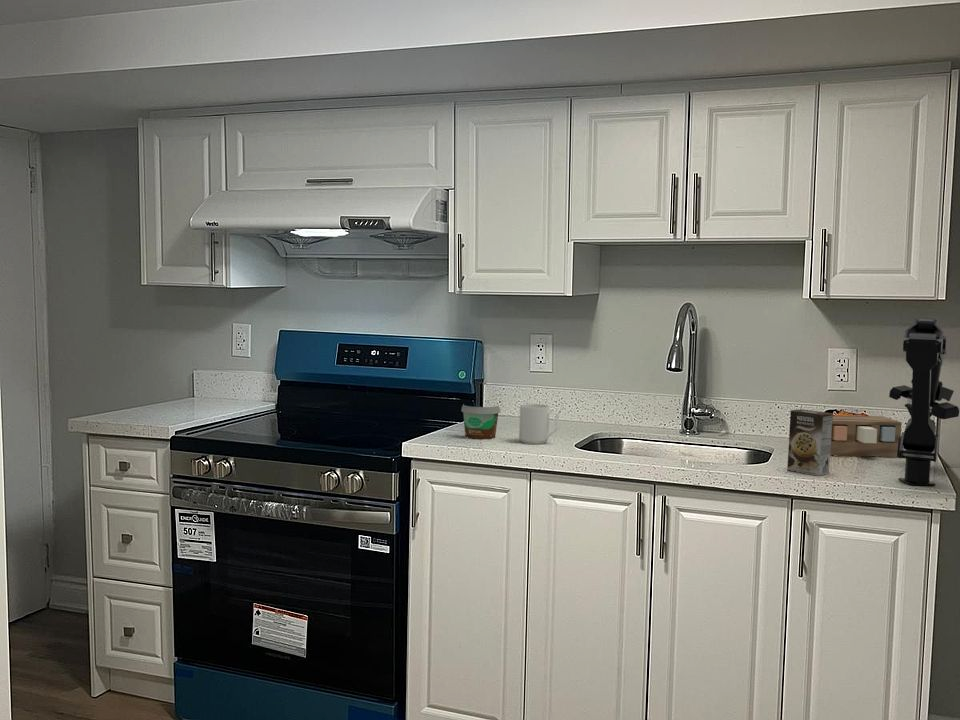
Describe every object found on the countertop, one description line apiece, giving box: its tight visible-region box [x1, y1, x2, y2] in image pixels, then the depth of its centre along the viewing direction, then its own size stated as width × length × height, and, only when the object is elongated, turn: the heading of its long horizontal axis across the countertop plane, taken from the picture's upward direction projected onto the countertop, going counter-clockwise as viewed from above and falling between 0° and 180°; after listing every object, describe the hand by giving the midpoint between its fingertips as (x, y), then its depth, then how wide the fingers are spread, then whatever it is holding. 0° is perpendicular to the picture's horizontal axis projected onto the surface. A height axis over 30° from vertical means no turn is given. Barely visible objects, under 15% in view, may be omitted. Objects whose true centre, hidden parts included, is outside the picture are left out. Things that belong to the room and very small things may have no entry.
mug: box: [518, 403, 560, 445], centre depth 284 cm, size 12×9×11 cm
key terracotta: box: [831, 424, 847, 441], centre depth 274 cm, size 6×4×4 cm, turn 1°
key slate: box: [879, 425, 896, 442], centre depth 275 cm, size 6×4×4 cm, turn 1°
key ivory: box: [856, 426, 877, 443], centre depth 271 cm, size 6×4×4 cm, turn 1°
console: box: [830, 414, 903, 458], centre depth 279 cm, size 12×22×10 cm, turn 91°
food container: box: [461, 403, 501, 440], centre depth 289 cm, size 12×6×10 cm, turn 80°
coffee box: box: [786, 409, 834, 477], centre depth 247 cm, size 9×6×16 cm
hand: (918, 431), depth 256 cm, fingers closed
